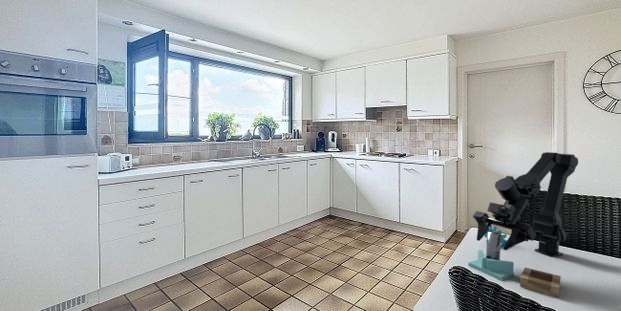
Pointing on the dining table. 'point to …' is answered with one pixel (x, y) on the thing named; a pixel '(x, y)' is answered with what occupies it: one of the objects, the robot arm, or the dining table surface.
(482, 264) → the v block
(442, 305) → the dining table surface
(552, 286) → the block
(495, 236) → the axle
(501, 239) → the gear
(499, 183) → the robot arm
